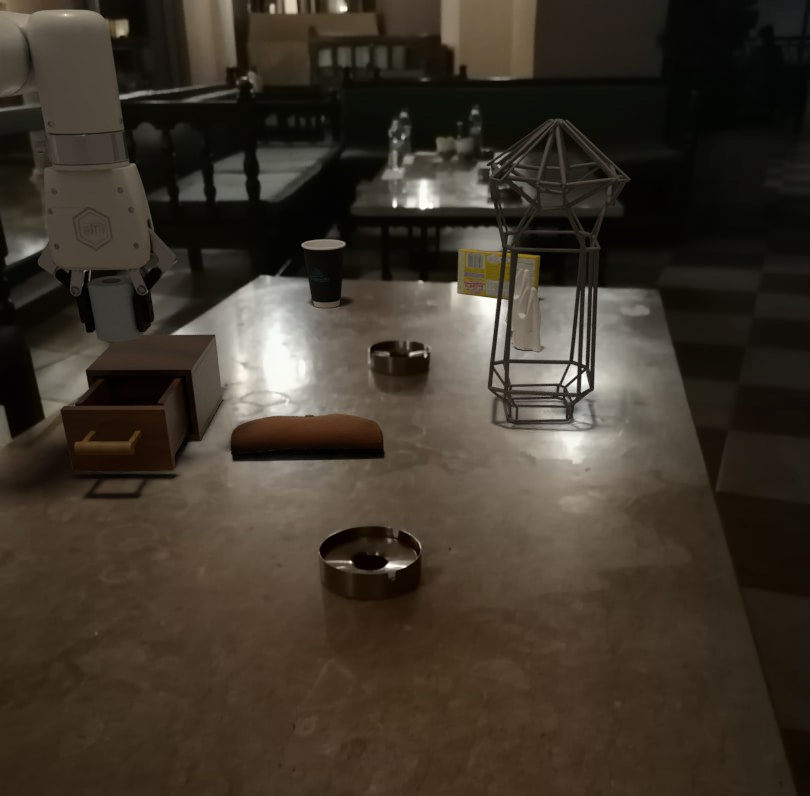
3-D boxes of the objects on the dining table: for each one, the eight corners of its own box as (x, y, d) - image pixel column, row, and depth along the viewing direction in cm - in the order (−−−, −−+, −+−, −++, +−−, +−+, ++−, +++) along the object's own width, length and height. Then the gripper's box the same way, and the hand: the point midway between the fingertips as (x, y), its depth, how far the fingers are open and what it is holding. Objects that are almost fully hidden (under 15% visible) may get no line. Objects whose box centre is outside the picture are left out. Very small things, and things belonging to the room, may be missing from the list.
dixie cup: (343, 298, 173) (341, 238, 167) (351, 308, 166) (349, 246, 161) (302, 300, 171) (298, 240, 166) (308, 311, 164) (304, 249, 159)
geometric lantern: (479, 390, 126) (488, 114, 109) (593, 392, 125) (620, 113, 108) (478, 433, 113) (487, 124, 96) (606, 436, 111) (638, 124, 94)
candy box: (538, 300, 169) (541, 255, 165) (534, 303, 168) (536, 257, 164) (461, 290, 177) (462, 247, 173) (456, 293, 175) (457, 249, 171)
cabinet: (200, 440, 111) (191, 369, 107) (98, 441, 112) (85, 370, 107) (222, 399, 124) (215, 334, 120) (131, 400, 124) (120, 335, 120)
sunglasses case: (383, 426, 114) (382, 391, 108) (384, 472, 110) (384, 439, 104) (239, 430, 113) (230, 395, 107) (236, 476, 110) (227, 443, 104)
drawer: (162, 489, 97) (152, 426, 94) (57, 489, 98) (43, 426, 94) (199, 425, 113) (191, 369, 110) (108, 426, 114) (98, 370, 110)
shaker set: (504, 331, 152) (506, 263, 147) (528, 330, 152) (532, 263, 147) (515, 352, 142) (518, 280, 136) (542, 351, 142) (546, 280, 136)
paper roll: (91, 342, 98) (80, 286, 95) (105, 329, 103) (95, 275, 100) (136, 342, 98) (127, 285, 95) (148, 329, 103) (140, 274, 100)
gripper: (-10, 156, 88) (30, 340, 97) (163, 154, 88) (188, 338, 97) (20, 148, 95) (55, 321, 104) (181, 146, 95) (203, 319, 103)
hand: (119, 327), depth 100 cm, fingers closed on paper roll, 5 cm apart
